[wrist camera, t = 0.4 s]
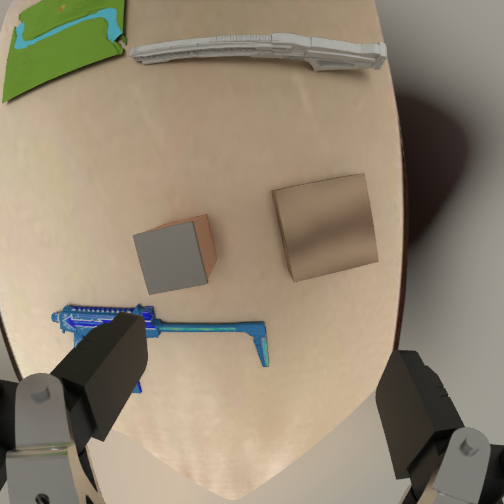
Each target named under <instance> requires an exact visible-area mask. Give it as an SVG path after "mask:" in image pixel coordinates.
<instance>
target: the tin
mask: <svg viewBox="0 0 504 504" xmlns="http://www.w3.org/2000/svg"><path fill="white" fill-rule="evenodd" d="M133 238H134V242H135V246H136V250H137V254H138V258H139V261H140V265H141V269H142V272H143V276H144V279H145V283H146V286H147V290H148V293H149V295H151V294H157V293H162V292H167V291H173V290H178V289H183V288H188V287H194V286H199V285H204V284H207V283H208V277H209V275H210V273H211V271H212V269H213V267H214V265H215V263H216V260H217V257H216V253H215V249H214V244H213V240H212V236H211V231H210V227H209V222H208V218H207V214H206V215H202V216H197V217H193V218H189V219H184V220H180V221H176V222H172V223H168V224H163V225H161V226H158V227H156V228H153V229H151V230H148V231H146V232H143V233H139V234H136V235H133Z"/></svg>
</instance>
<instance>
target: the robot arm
mask: <svg viewBox="0 0 504 504" xmlns="http://www.w3.org/2000/svg"><path fill="white" fill-rule="evenodd" d="M147 360H148V351H147V339H146V326H145V319H144V317H143V316H141V315H136V314H132V313H127V312H123V311H121V312H119V313H118V314H117V315H116V316H115V317H114V319H113V320H112V321H111V322H110V323H103V324H101V325H99V326H97V327H95V328H93V329H91V330H90V331H89V332H88V333H87V334H86V336H85V337H84V338H83V340H81V341H80V342H79V343H78V344H77V345H76V348H75V347H74V348H73V349H72V350H71V351H70V352H69V353H68V355H67V356H66V357H65V358H64V359H63V360H62V361H61V362H60V363H59V364H58V365H57V366H56V368H55V369H54V370H53V371H52V372H51V373H50V374H47V373H37V374H33V375H30V376H27V377H26V378H24V379H23V380H22V381H21V382H20V383H15V382H10V381H5V380H0V491H1V489H2V487H3V486H4V484H5V482H6V480H7V482H8V492H9V500H10V504H105V502H104V500H103V497H102V494H101V491H100V488H99V485H98V482H97V479H96V476H95V472H94V469H93V465H92V461H91V458H90V454H89V450H88V447H87V443H88V441H89V439H90V438H91V437H93V438H95V439H98V440H100V441H103V442H104V440H105V438H106V437H107V435H108V433H109V431H110V430H111V428H112V426H113V424H114V423H115V421H116V419H117V417H118V416H119V414H120V412H121V410H122V409H123V407H124V405H125V404H126V402H127V400H128V398H129V397H130V395H131V393H132V392H133V390H134V388H135V386H136V385H137V383H138V381H139V380H140V378H141V376H142V375H143V373H144V371H145V369H146V365H147ZM376 404H377V408H378V411H379V414H380V418H381V422H382V426H383V429H384V433H385V436H386V440H387V444H388V448H389V452H390V456H391V460H392V464H393V468H394V472H395V476H396V479H404V478H410V480H411V484H410V485H409V486H408V487H407V489H406V491H405V492H404V494H403V496H402V498H401V500H400V501H399V503H398V504H503V501H502V498H503V497H504V445H493V444H490V443H489V442H488V439H487V438H486V437H485V435H484V434H482V433H481V432H480V431H478V430H476V429H473V428H469V427H465V426H464V424H463V422H462V420H461V418H460V416H459V414H458V412H457V410H456V408H455V406H454V405H453V402H452V401H451V399H450V397H448V393H447V391H446V389H445V388H443V384H442V382H441V380H440V378H439V377H438V375H437V374H436V373H435V372H434V371H433V370H432V369H430V368H429V367H428V366H425V365H424V363H423V361H422V359H421V358H420V356H419V354H418V353H417V352H416V351H408V350H394V351H393V352H392V354H391V355H390V358H389V360H388V363H387V365H386V367H385V370H384V372H383V374H382V377H381V379H380V381H379V383H378V386H377V389H376Z"/></svg>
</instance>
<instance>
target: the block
mask: <svg viewBox="0 0 504 504" xmlns="http://www.w3.org/2000/svg"><path fill="white" fill-rule="evenodd" d="M272 194H273V199H274V203H275V208H276V212H277V217H278V222H279V226H280V231H281V236H282V240H283V245H284V250H285V255H286V260H287V264H288V269H289V272H290V275H291V277H292V279H293V281H294V282H297V281H301V280H306V279H310V278H314V277H318V276H323V275H327V274H331V273H335V272H339V271H343V270H347V269H351V268H355V267H359V266H363V265H367V264H371V263H375V262H378V254H377V246H376V239H375V232H374V225H373V219H372V213H371V207H370V201H369V196H368V190H367V185H366V180H365V175H364V173H363V174H356V175H349V176H344V177H338V178H333V179H327V180H322V181H317V182H312V183H307V184H302V185H297V186H292V187H287V188H282V189H278V190H273V191H272Z"/></svg>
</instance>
